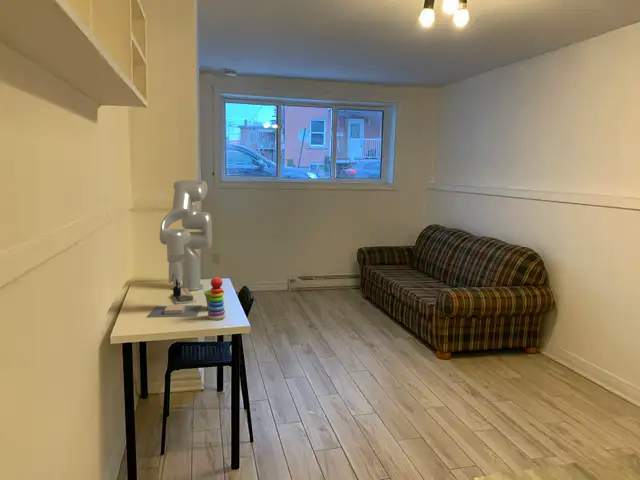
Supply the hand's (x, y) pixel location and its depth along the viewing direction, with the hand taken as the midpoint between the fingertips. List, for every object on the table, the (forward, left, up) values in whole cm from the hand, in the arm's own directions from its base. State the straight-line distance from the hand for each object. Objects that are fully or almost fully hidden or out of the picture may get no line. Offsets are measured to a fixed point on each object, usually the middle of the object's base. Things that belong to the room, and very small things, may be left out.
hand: (177, 295), depth 227 cm
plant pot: (+2, +18, -7) cm, 19 cm away
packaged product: (-16, 0, -7) cm, 18 cm away
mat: (+5, 0, -6) cm, 8 cm away
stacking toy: (+16, +20, -7) cm, 26 cm away
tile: (+2, 0, -5) cm, 5 cm away
